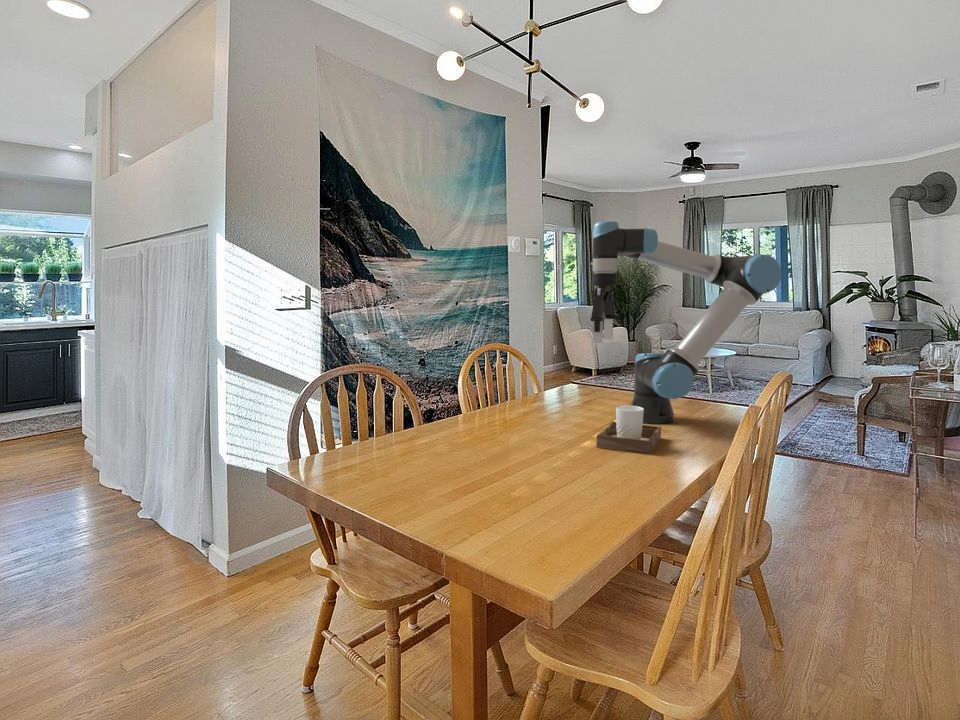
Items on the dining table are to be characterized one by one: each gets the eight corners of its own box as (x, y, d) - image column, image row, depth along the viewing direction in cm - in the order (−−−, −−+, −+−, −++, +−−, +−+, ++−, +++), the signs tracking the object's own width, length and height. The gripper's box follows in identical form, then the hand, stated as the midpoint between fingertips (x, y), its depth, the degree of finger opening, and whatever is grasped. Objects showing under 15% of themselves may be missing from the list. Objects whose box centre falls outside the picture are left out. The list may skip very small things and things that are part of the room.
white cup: (643, 446, 161) (644, 411, 159) (615, 444, 162) (616, 410, 161) (642, 438, 168) (643, 405, 167) (614, 437, 170) (615, 404, 169)
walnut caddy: (611, 432, 178) (611, 421, 178) (660, 438, 172) (661, 426, 171) (596, 447, 162) (596, 435, 162) (650, 454, 156) (650, 441, 155)
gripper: (602, 273, 189) (601, 337, 191) (581, 272, 166) (580, 344, 169) (625, 273, 185) (623, 337, 188) (607, 271, 163) (605, 345, 166)
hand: (603, 340), depth 179 cm, fingers open, 13 cm apart
